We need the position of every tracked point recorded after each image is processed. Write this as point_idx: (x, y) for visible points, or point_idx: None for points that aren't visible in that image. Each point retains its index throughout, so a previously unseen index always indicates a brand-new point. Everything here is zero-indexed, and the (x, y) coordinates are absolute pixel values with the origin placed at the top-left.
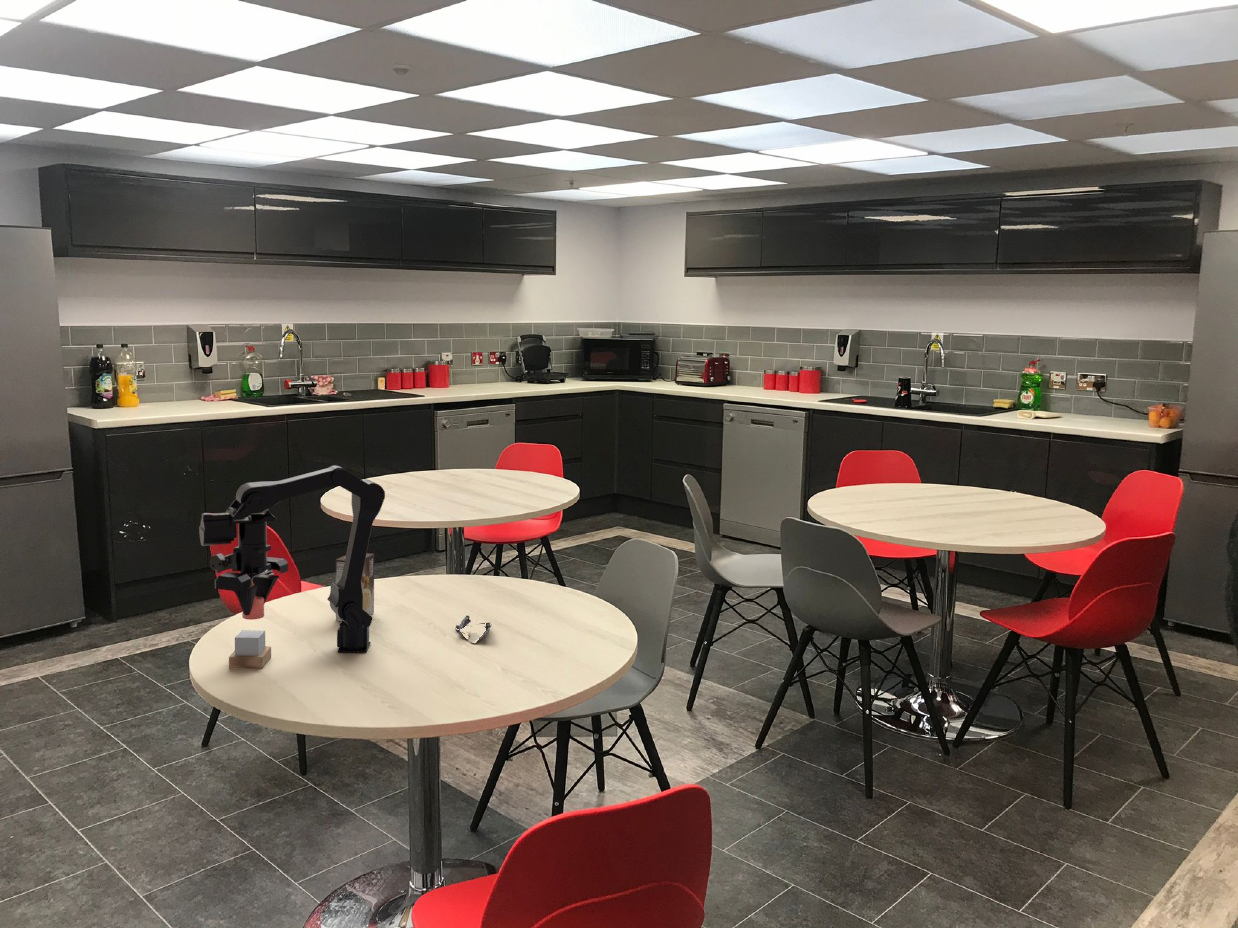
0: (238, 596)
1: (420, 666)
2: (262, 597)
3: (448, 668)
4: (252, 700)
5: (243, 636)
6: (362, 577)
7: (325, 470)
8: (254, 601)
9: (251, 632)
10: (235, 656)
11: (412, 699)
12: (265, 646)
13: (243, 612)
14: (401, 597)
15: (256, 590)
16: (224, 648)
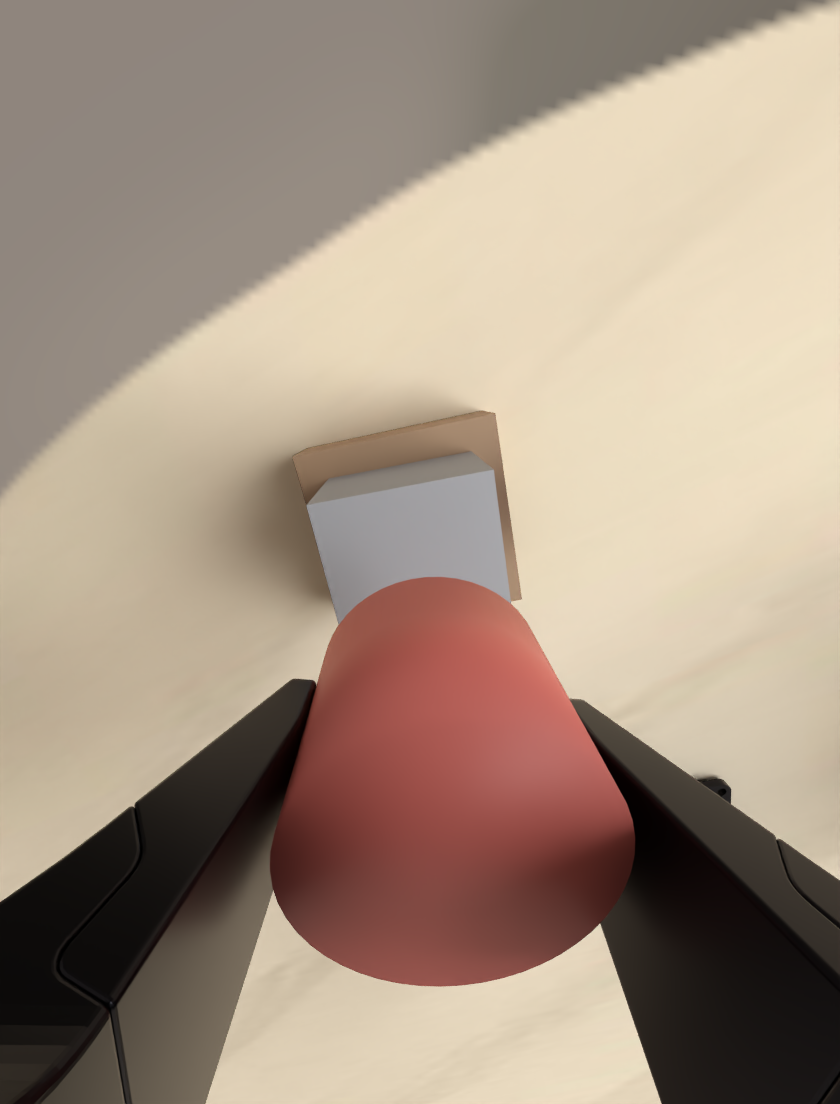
0: (10, 938)
1: (502, 1033)
2: (551, 944)
3: (499, 1085)
4: (2, 729)
5: (348, 556)
6: None
7: None
8: (309, 942)
9: (452, 566)
10: (311, 491)
11: (236, 1083)
12: (515, 571)
13: (275, 694)
14: None
15: (735, 927)
16: (618, 239)
